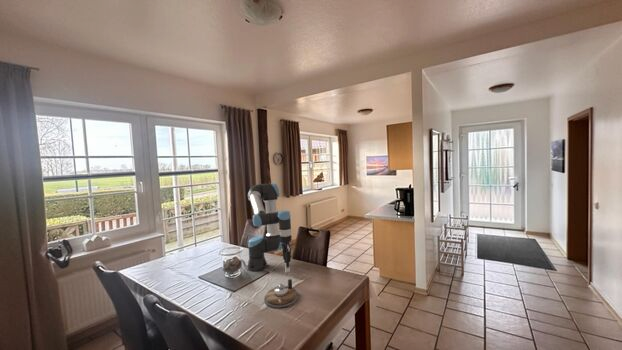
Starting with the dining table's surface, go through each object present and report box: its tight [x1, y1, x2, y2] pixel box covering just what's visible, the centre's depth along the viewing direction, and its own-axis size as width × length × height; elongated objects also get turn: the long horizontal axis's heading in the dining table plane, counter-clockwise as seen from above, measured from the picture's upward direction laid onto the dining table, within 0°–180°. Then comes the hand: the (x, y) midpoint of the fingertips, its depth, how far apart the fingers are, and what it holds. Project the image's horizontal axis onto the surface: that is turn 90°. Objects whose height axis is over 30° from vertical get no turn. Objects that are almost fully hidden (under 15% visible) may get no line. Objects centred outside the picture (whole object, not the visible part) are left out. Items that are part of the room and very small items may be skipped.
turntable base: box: [263, 291, 299, 309], centre depth 148 cm, size 20×20×1 cm
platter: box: [265, 278, 297, 305], centre depth 147 cm, size 18×18×6 cm
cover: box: [274, 283, 288, 297], centre depth 148 cm, size 8×8×5 cm
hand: (287, 271), depth 159 cm, fingers closed
